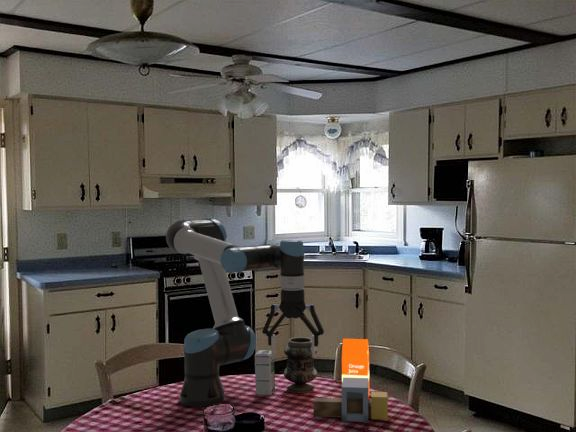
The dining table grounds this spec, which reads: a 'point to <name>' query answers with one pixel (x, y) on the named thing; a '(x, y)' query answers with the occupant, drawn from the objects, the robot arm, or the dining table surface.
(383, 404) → the block
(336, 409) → the wooden bar
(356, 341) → the orange juice
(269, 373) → the syrup box
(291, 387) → the brown ornate vase
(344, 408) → the grey framed box
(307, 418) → the dining table surface
